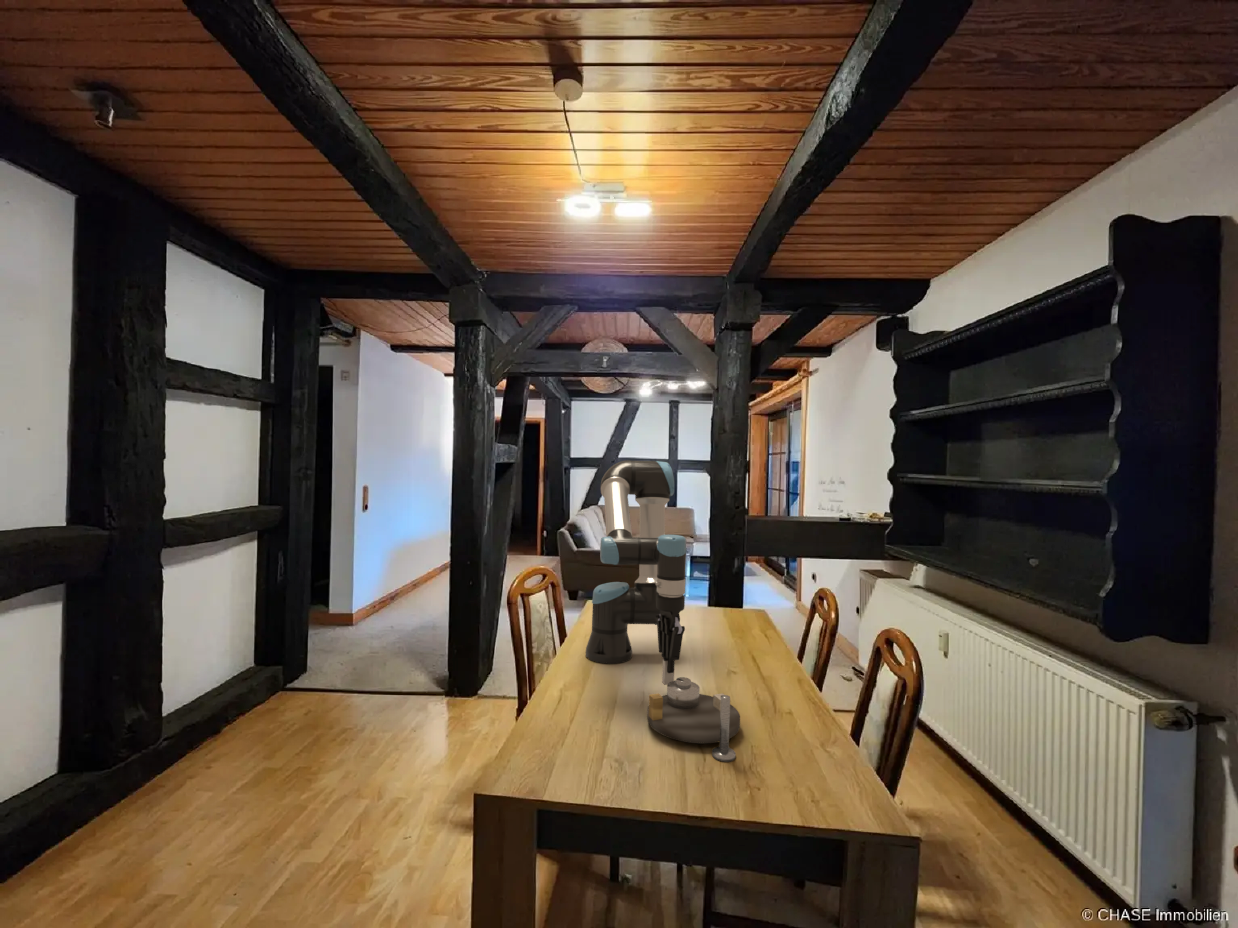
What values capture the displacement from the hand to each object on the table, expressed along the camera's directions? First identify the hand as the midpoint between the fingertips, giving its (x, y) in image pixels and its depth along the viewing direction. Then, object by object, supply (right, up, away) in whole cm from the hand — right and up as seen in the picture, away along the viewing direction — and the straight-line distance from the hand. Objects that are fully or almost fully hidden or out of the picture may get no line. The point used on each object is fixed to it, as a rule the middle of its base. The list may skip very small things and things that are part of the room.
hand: (667, 683), depth 147 cm
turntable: (+5, -4, -13) cm, 15 cm away
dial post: (+10, -5, -26) cm, 29 cm away
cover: (+3, -2, -8) cm, 9 cm away
